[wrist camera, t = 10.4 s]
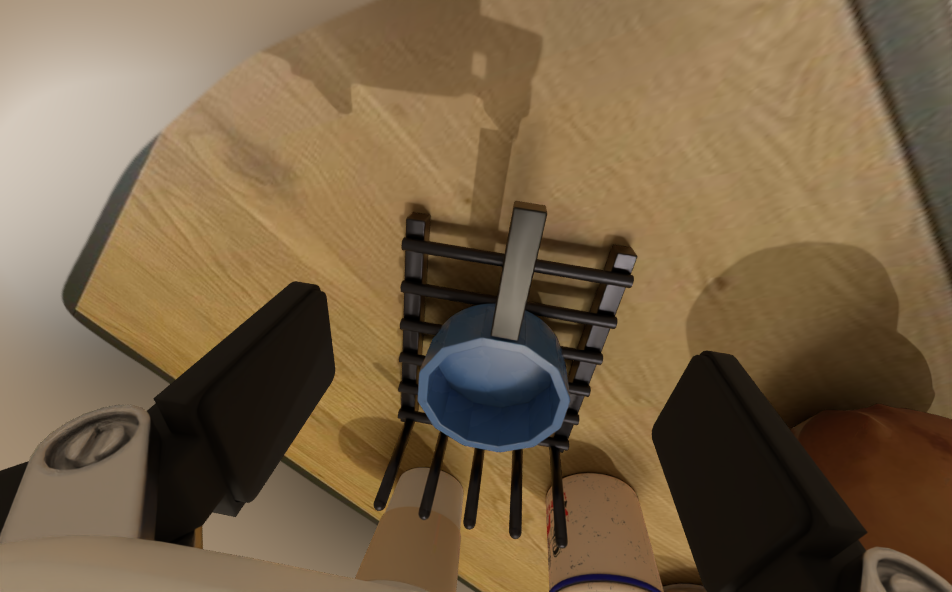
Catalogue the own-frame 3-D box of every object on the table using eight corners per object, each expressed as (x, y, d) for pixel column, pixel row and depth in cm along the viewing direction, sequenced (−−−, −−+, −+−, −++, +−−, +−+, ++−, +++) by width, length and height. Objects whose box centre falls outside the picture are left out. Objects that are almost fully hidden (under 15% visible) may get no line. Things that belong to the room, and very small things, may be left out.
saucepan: (447, 175, 19) (429, 193, 16) (614, 201, 19) (635, 226, 15) (429, 393, 27) (414, 438, 24) (546, 415, 27) (548, 465, 23)
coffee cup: (374, 464, 36) (288, 668, 23) (457, 455, 34) (413, 676, 21) (408, 516, 40) (350, 716, 27) (484, 512, 38) (462, 728, 25)
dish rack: (412, 211, 23) (349, 273, 15) (631, 246, 22) (691, 332, 14) (405, 408, 32) (363, 515, 24) (561, 438, 31) (573, 559, 23)
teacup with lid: (542, 466, 33) (548, 627, 23) (646, 471, 32) (700, 645, 22) (544, 538, 39) (549, 693, 29) (632, 545, 37) (671, 710, 27)
